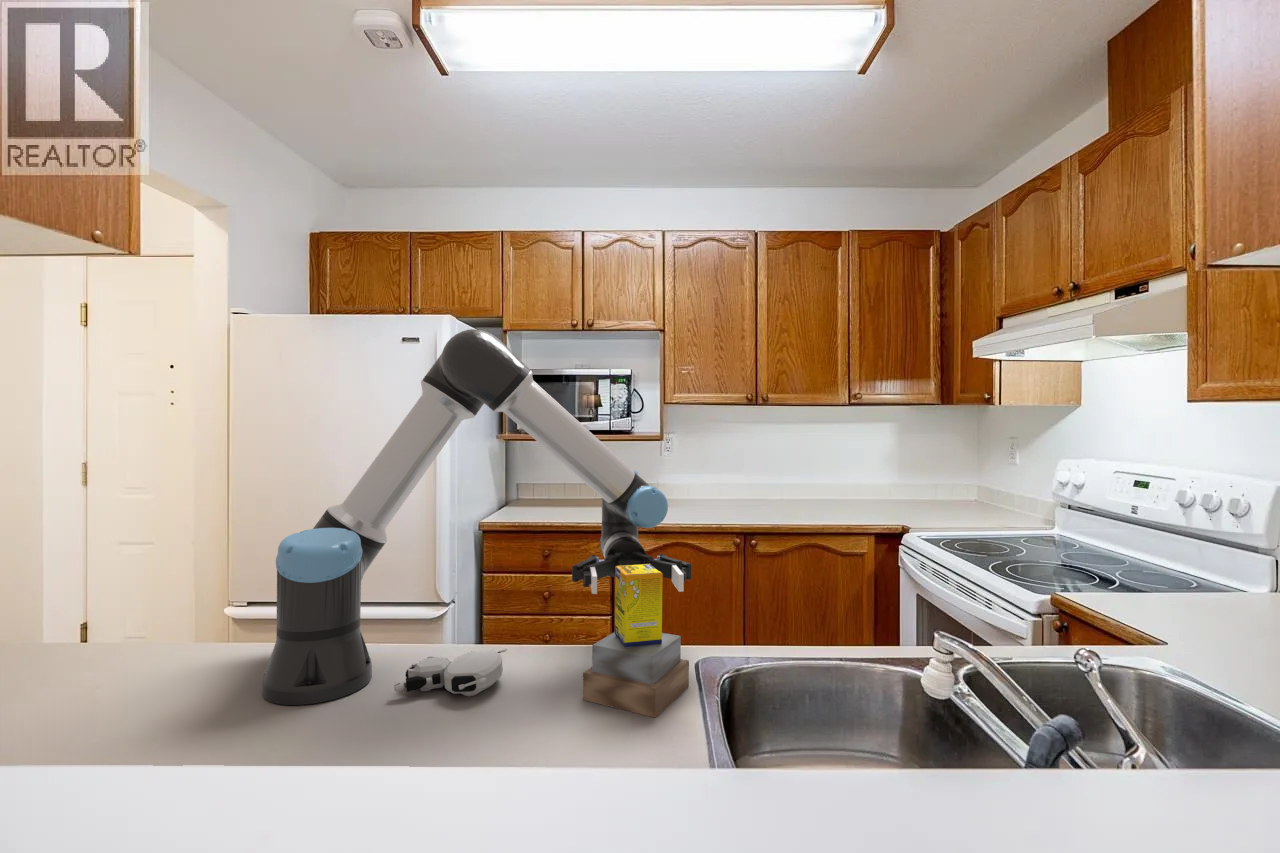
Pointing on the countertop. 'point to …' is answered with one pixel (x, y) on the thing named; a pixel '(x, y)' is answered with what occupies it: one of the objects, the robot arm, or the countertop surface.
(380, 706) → the countertop surface
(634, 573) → the supplement box
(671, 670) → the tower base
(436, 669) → the robot toy
